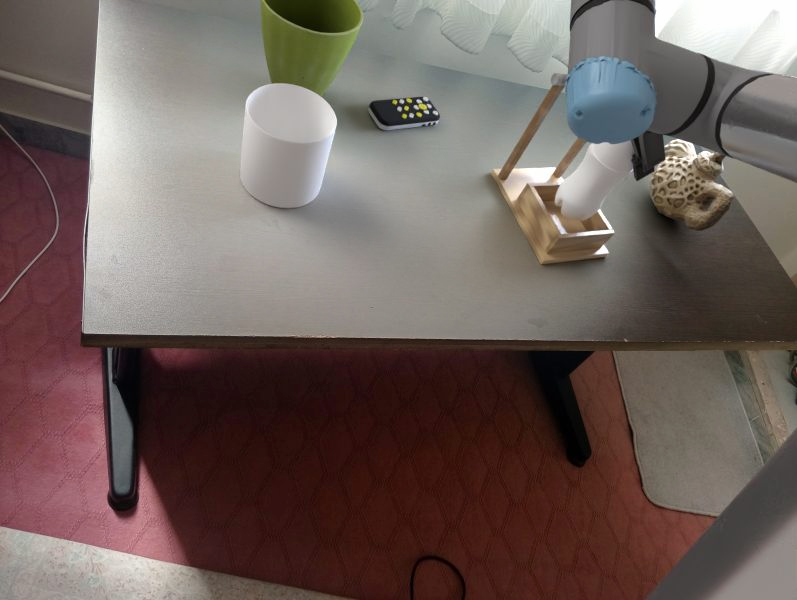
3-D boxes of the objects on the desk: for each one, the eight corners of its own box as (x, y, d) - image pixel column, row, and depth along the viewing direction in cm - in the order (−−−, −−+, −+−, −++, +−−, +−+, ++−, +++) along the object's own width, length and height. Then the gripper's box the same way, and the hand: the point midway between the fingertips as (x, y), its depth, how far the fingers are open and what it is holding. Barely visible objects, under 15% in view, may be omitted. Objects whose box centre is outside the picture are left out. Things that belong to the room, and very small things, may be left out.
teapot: (623, 165, 108) (676, 104, 97) (671, 177, 111) (727, 118, 100) (654, 248, 97) (718, 189, 85) (707, 258, 100) (775, 203, 88)
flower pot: (352, 90, 96) (375, 2, 83) (324, 138, 87) (345, 47, 74) (272, 55, 94) (284, -40, 82) (235, 100, 85) (242, 1, 73)
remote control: (364, 108, 94) (367, 98, 92) (424, 102, 100) (427, 93, 98) (380, 132, 91) (383, 123, 90) (440, 125, 98) (444, 116, 96)
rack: (608, 256, 91) (700, 163, 75) (538, 264, 85) (621, 165, 68) (555, 171, 100) (626, 71, 84) (488, 173, 94) (551, 65, 77)
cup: (295, 143, 84) (308, 77, 74) (335, 196, 80) (353, 133, 71) (225, 160, 78) (228, 89, 68) (264, 218, 74) (274, 152, 65)
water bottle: (556, 222, 85) (664, 87, 65) (545, 189, 89) (645, 52, 69) (594, 228, 87) (711, 99, 67) (582, 196, 91) (689, 64, 71)
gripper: (546, 18, 66) (573, 123, 86) (636, 132, 57) (642, 220, 77) (604, -21, 64) (617, 95, 84) (706, 91, 55) (694, 191, 75)
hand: (629, 155), depth 80 cm, fingers closed on water bottle, 7 cm apart
